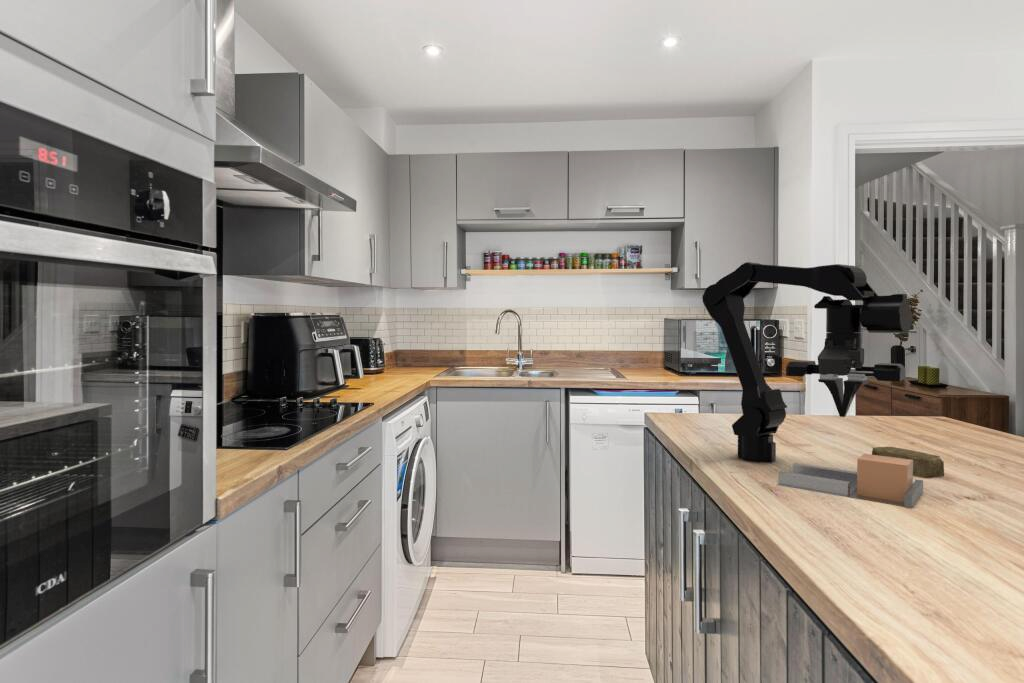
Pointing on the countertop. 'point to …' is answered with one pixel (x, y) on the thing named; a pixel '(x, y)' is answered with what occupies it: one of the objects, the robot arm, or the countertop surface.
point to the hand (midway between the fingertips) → (842, 416)
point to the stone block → (915, 461)
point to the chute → (839, 484)
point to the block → (884, 477)
